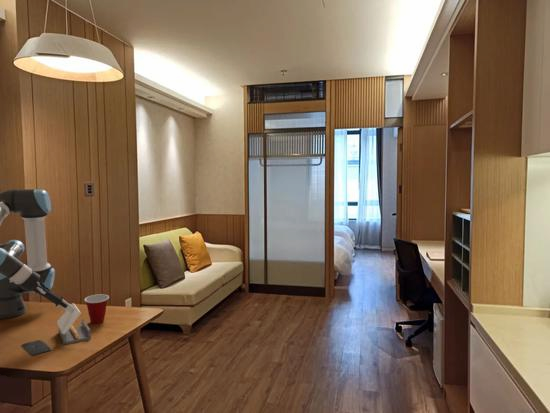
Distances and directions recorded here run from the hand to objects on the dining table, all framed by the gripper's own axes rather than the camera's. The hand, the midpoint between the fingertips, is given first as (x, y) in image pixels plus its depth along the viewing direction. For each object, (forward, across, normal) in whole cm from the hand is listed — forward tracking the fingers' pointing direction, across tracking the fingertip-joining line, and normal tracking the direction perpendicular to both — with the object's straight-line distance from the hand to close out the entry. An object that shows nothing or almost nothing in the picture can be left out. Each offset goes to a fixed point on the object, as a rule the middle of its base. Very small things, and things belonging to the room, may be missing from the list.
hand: (72, 310), depth 162 cm
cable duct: (+9, 0, -8) cm, 11 cm away
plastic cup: (+17, -13, +1) cm, 22 cm away
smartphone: (-1, +4, -18) cm, 19 cm away
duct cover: (+2, 0, -3) cm, 3 cm away
